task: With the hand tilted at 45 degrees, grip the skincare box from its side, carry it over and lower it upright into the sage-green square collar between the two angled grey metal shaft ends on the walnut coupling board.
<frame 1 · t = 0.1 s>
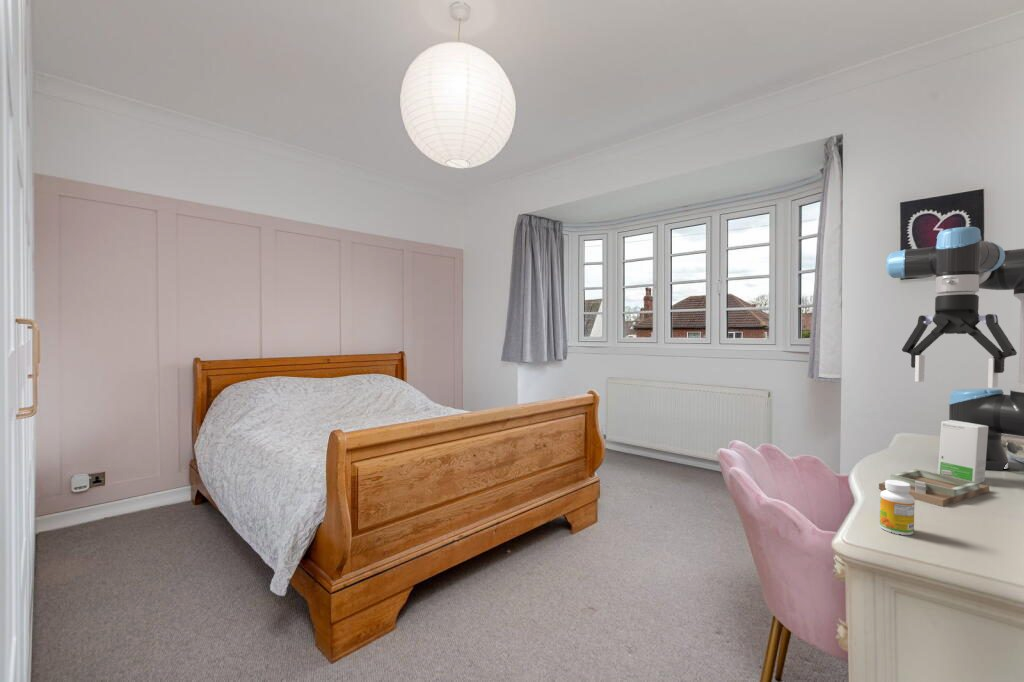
hand: (954, 384, 113), 28 cm above the table, tool pointing down, fingers open, 13 cm apart
supplement bottle: (896, 531, 97), on the table
coupling board: (933, 490, 121), on the table
skincare box: (961, 480, 131), on the table
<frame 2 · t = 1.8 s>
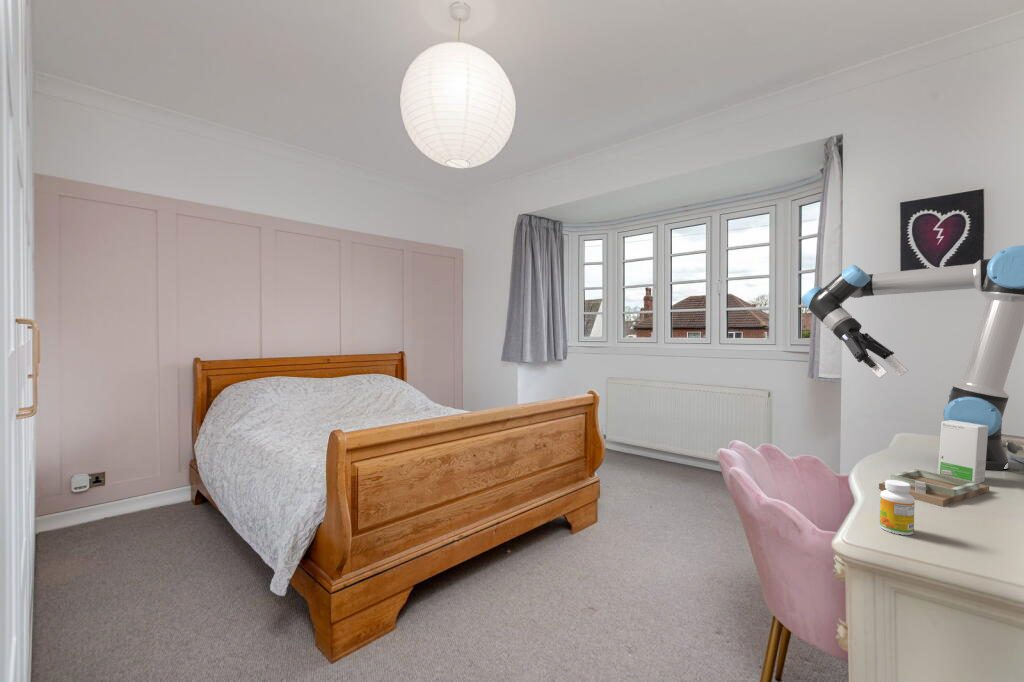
hand: (894, 374, 146), 27 cm above the table, tool tilted 45°, fingers open, 13 cm apart
nothing on the table moved.
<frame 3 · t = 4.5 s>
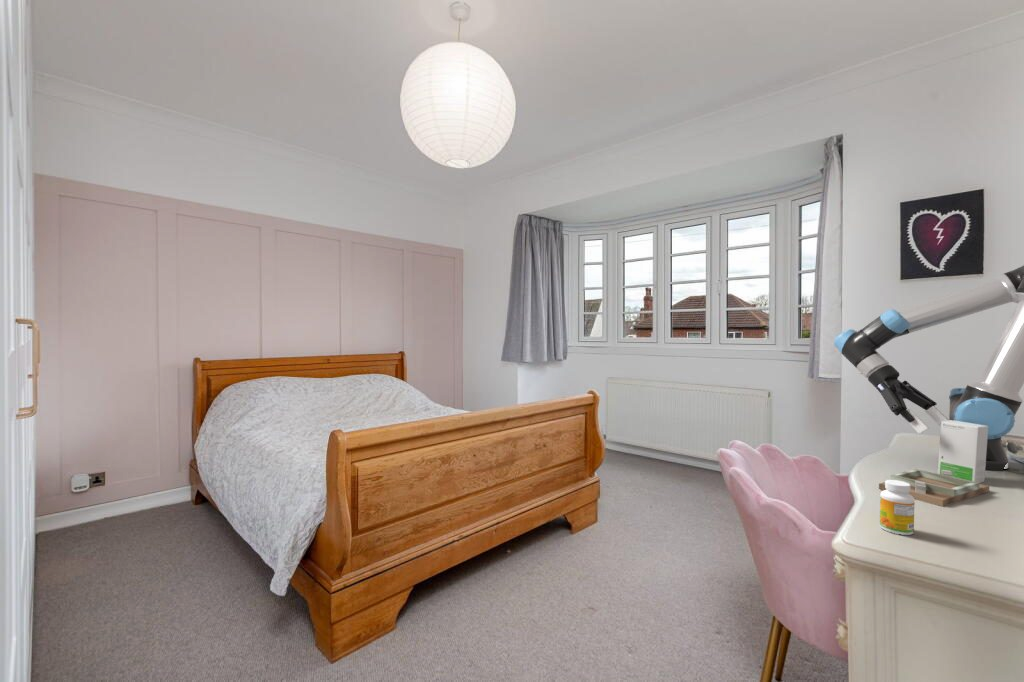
hand: (936, 428, 135), 13 cm above the table, tool tilted 45°, fingers open, 13 cm apart
nothing on the table moved.
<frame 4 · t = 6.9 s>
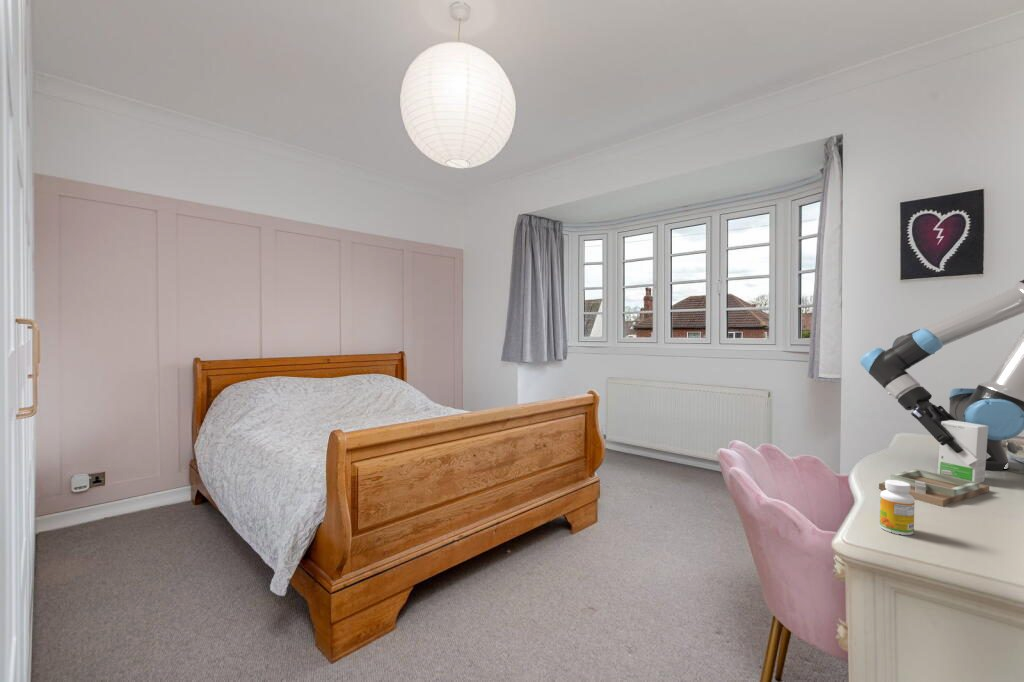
hand: (979, 460, 128), 6 cm above the table, tool tilted 45°, fingers closed on skincare box, 6 cm apart
skincare box: (961, 479, 131), on the table, touching gripper
everything else where it was.
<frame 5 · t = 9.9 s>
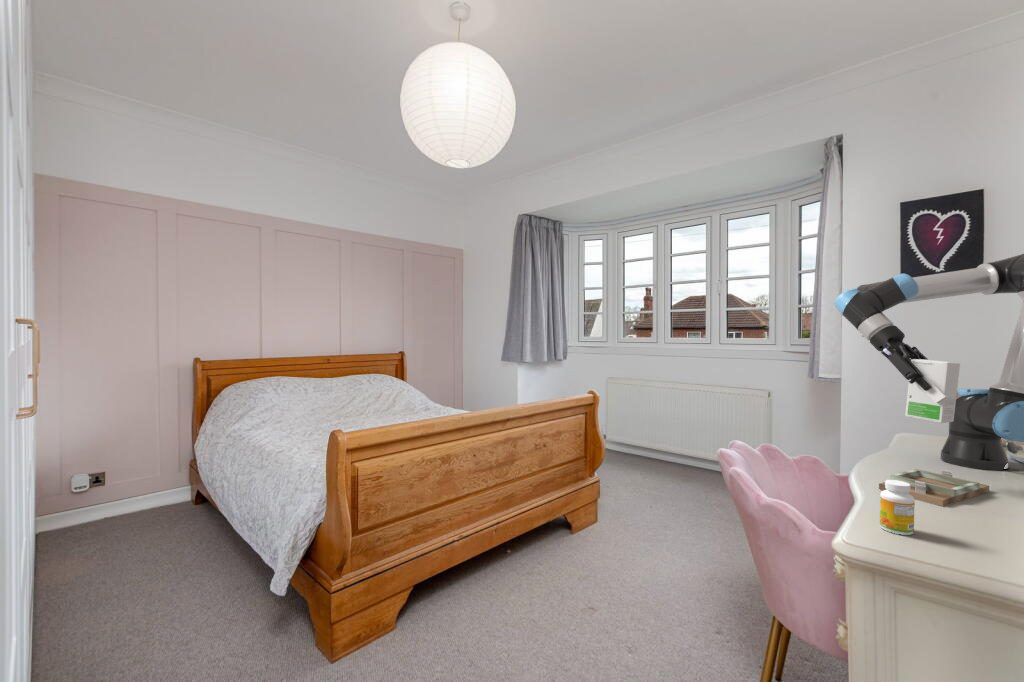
hand: (948, 399, 121), 23 cm above the table, tool tilted 45°, fingers closed on skincare box, 6 cm apart
skincare box: (929, 420, 125), point 17 cm above the table, touching gripper
everything else where it was.
when the fingers open (9 cm above the table, at t = 13.2 s): skincare box drops 2 cm, resting on coupling board.
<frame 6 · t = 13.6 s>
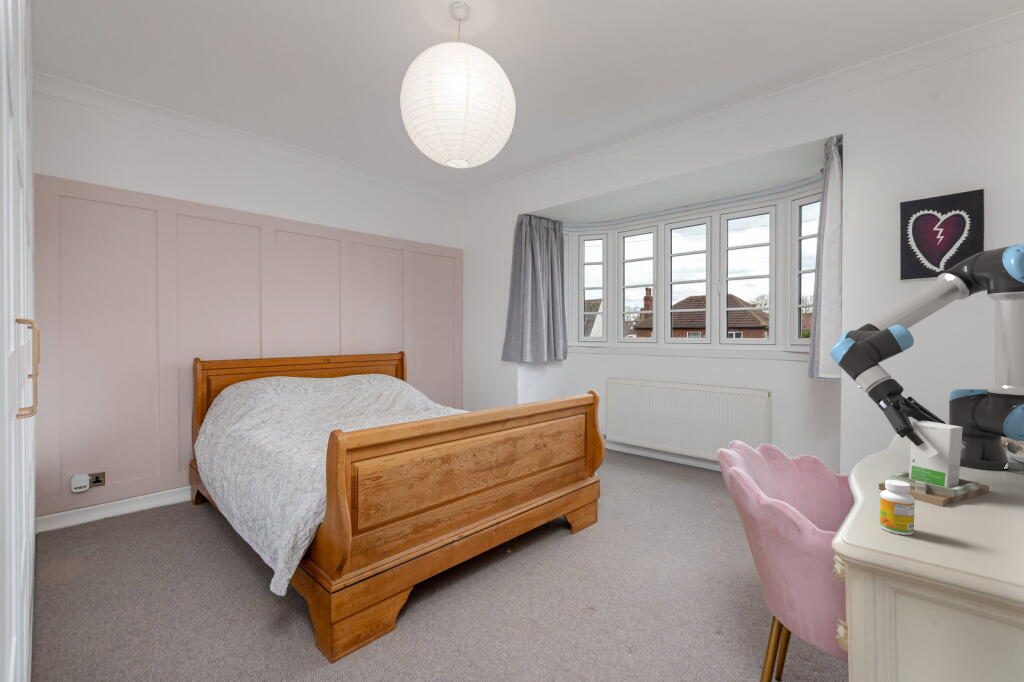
hand: (947, 453, 119), 10 cm above the table, tool tilted 45°, fingers open, 12 cm apart
skincare box: (934, 485, 122), point 1 cm above the table, touching coupling board
everything else where it was.
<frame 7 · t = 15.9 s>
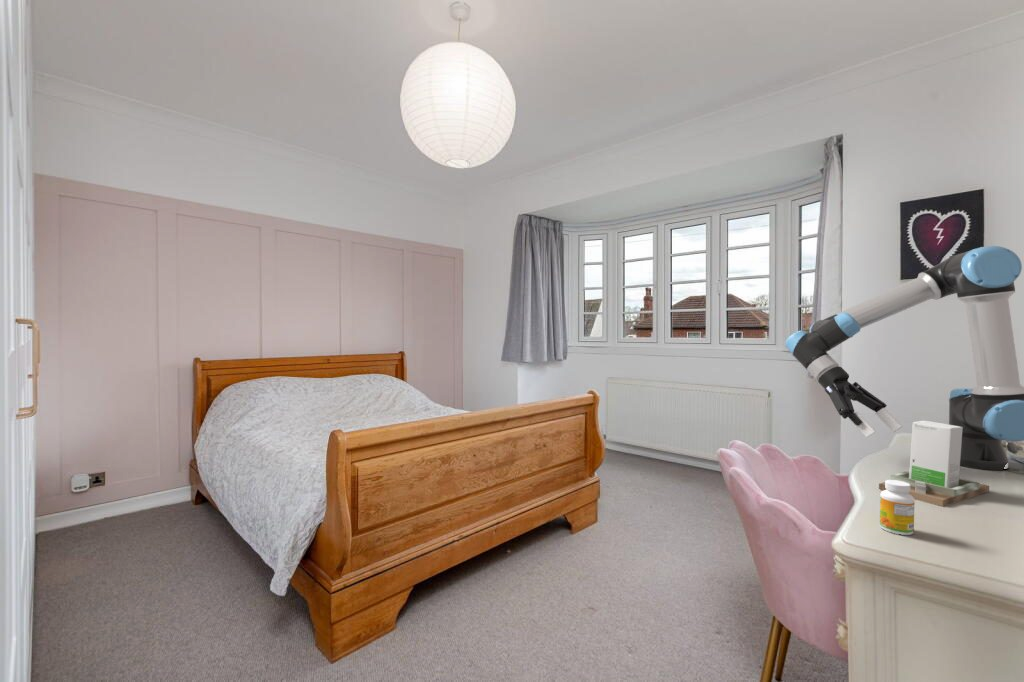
hand: (885, 431, 131), 13 cm above the table, tool tilted 45°, fingers open, 13 cm apart
nothing on the table moved.
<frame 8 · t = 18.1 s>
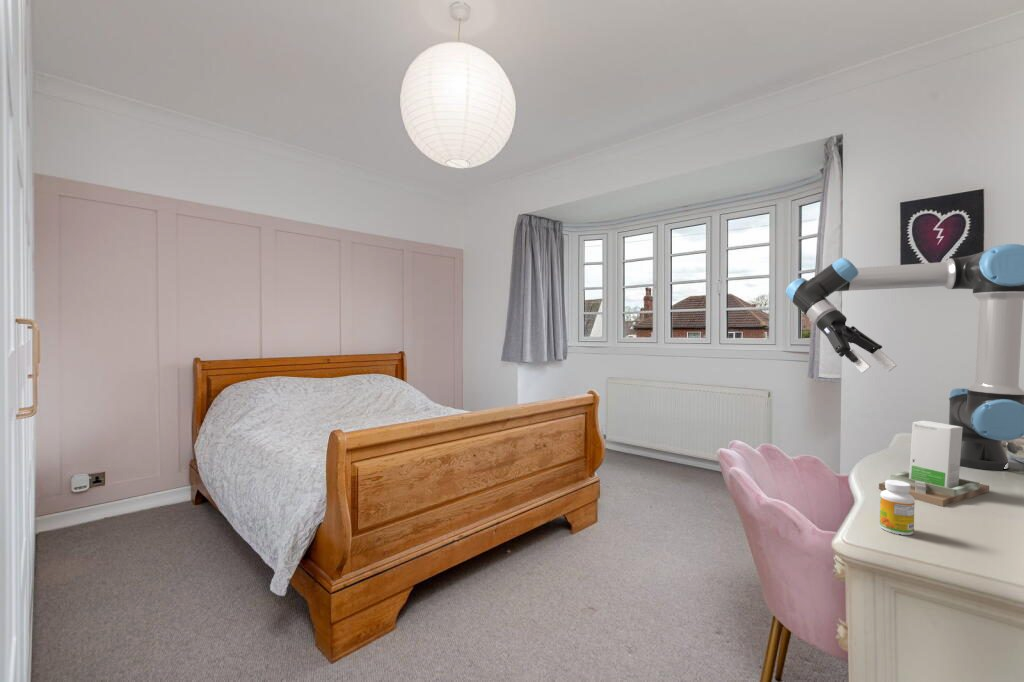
hand: (880, 369, 136), 30 cm above the table, tool tilted 45°, fingers open, 13 cm apart
nothing on the table moved.
at the end: skincare box inside the target area on the coupling board (0.4 cm from its centre), point 1.3 cm above the coupling board's base; skincare box tilted 0°; the gripper is holding nothing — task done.
